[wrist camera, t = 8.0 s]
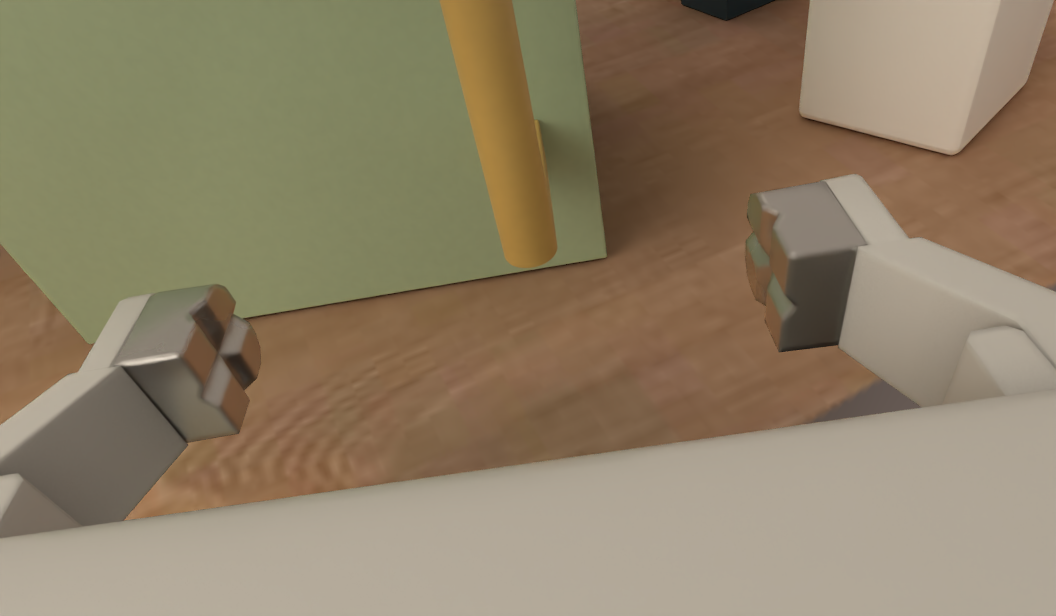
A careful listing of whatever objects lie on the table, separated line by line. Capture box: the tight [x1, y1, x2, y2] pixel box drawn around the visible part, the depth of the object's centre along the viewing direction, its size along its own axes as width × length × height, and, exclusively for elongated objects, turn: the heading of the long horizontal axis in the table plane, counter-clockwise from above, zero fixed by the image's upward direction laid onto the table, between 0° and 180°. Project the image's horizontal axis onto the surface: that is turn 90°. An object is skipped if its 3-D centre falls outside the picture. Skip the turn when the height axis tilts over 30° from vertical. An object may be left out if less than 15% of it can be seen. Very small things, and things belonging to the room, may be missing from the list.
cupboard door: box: [0, 0, 607, 344], centre depth 19 cm, size 7×22×22 cm, turn 93°
